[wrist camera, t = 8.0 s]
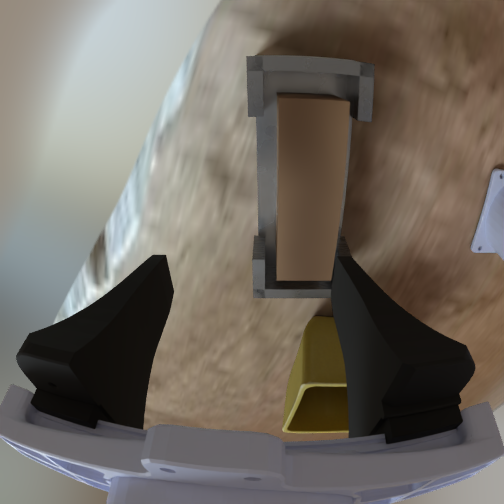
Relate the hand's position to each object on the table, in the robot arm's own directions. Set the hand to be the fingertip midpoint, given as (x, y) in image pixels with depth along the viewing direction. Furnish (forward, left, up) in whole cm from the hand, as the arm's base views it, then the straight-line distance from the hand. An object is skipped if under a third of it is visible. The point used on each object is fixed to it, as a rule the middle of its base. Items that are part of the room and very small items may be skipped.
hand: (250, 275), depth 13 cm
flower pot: (-7, +15, -10) cm, 19 cm away
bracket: (-3, -1, -10) cm, 10 cm away
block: (-3, -1, -9) cm, 10 cm away
